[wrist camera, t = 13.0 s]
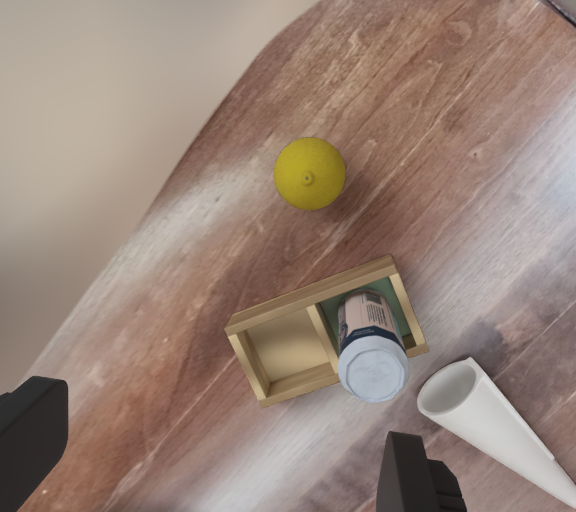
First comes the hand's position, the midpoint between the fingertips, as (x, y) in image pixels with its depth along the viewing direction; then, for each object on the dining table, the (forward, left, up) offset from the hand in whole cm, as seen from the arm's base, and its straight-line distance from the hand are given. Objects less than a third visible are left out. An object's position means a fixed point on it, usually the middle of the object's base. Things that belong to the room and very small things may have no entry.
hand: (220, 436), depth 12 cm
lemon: (-4, +2, -33) cm, 33 cm away
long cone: (+27, +9, -33) cm, 43 cm away
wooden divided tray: (+10, -2, -33) cm, 34 cm away
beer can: (+10, +2, -32) cm, 34 cm away
